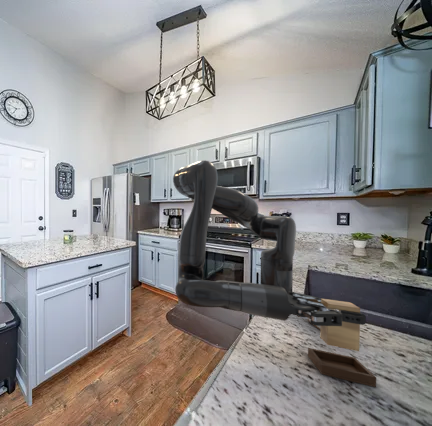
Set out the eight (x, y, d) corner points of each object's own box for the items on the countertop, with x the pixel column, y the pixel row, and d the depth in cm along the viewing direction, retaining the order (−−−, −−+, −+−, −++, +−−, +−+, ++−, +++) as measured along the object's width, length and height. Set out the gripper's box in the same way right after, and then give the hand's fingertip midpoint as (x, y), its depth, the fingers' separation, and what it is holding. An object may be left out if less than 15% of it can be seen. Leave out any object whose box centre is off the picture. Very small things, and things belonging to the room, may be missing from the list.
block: (320, 337, 48) (321, 298, 48) (349, 343, 46) (350, 302, 46) (327, 344, 45) (328, 303, 45) (359, 351, 43) (360, 308, 43)
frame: (307, 355, 50) (307, 347, 50) (354, 366, 47) (355, 357, 47) (321, 374, 44) (321, 364, 44) (376, 387, 41) (376, 377, 41)
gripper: (269, 294, 44) (385, 311, 38) (254, 276, 57) (338, 286, 50) (269, 329, 44) (384, 353, 38) (253, 303, 57) (337, 317, 51)
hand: (357, 315), depth 44 cm, fingers closed on block, 3 cm apart
